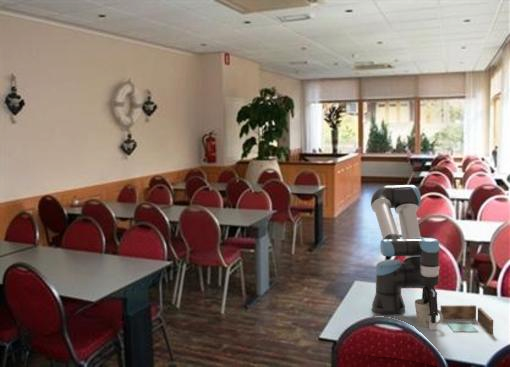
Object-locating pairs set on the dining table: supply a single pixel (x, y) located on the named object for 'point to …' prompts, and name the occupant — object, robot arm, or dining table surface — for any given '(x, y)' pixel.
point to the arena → (466, 313)
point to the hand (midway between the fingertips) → (429, 325)
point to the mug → (424, 313)
